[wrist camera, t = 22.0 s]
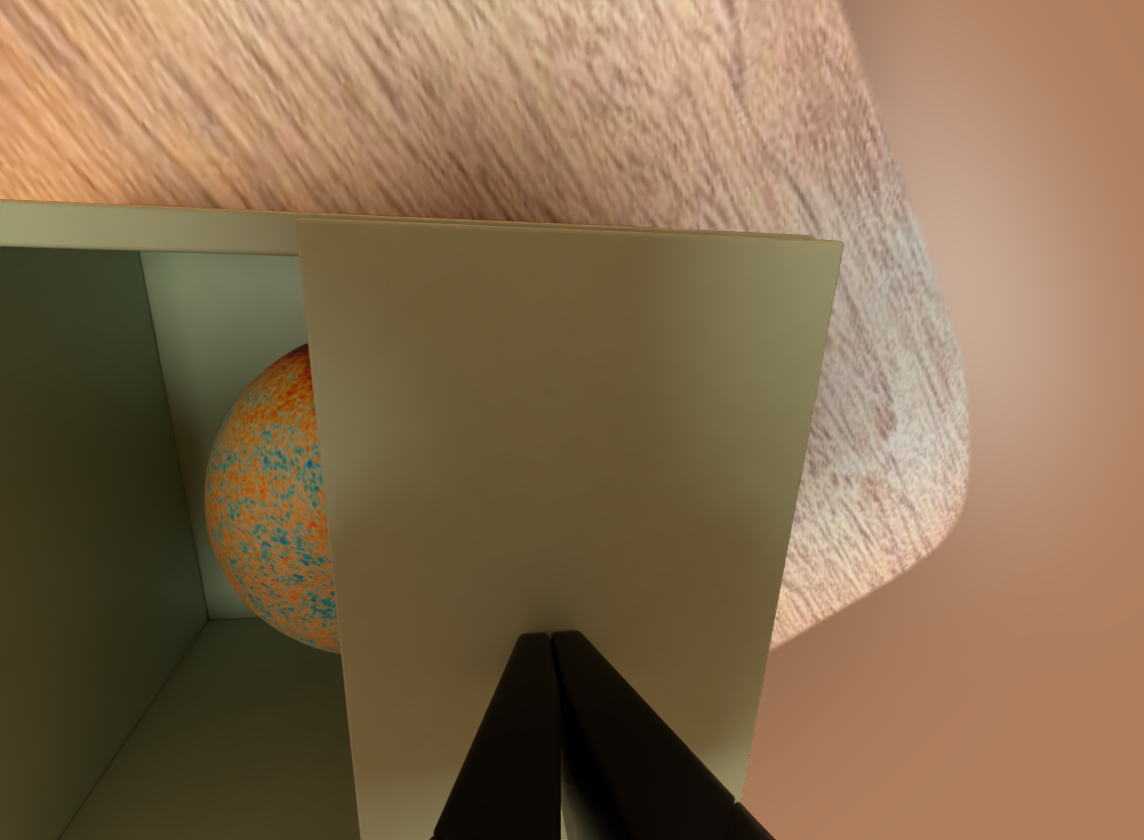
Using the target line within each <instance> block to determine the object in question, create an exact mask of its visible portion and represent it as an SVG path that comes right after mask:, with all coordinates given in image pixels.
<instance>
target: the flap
mask: <svg viewBox="0 0 1144 840" xmlns="http://www.w3.org/2000/svg"><path fill="white" fill-rule="evenodd" d="M295 225H296V235H297V244H298V254H299V263H300V272H301V282H302V291H303V301H304V310H305V320H306V329H307V339H308V348H309V357H310V367H311V376H312V386H313V395H314V405H315V414H316V424H317V433H318V442H319V452H320V461H321V471H322V480H323V490H324V499H325V509H326V518H327V527H328V537H329V546H330V556H331V565H332V575H333V584H334V593H335V603H336V612H337V622H338V631H339V641H340V650H341V660H342V669H343V678H344V688H345V697H346V707H347V716H348V726H349V735H350V745H351V754H352V763H353V773H354V782H355V792H356V801H357V811H358V820H359V830H360V839H361V840H429V839H430V838H431V837H432V836H433V832H434V829H435V826H436V824H437V822H438V820H439V817H440V815H441V813H442V810H443V808H444V806H445V804H446V801H447V799H448V797H449V794H450V792H451V790H452V788H453V785H454V783H455V781H456V778H457V776H458V774H459V772H460V769H461V767H462V765H463V762H464V760H465V758H466V756H467V753H468V751H469V749H470V746H471V744H472V742H473V740H474V737H475V735H476V733H477V730H478V728H479V726H480V724H481V721H482V719H483V717H484V714H485V712H486V710H487V708H488V705H489V703H490V701H491V698H492V696H493V694H494V692H495V689H496V687H497V685H498V682H499V680H500V678H501V676H502V673H503V671H504V669H505V666H506V664H507V662H508V660H509V657H510V655H511V653H512V650H513V648H514V646H515V644H516V641H517V639H518V637H519V636H520V635H521V634H523V633H538V632H545V633H546V634H547V635H548V636H549V640H550V643H551V636H552V634H553V633H554V632H556V631H570V630H578V631H580V632H581V633H582V634H583V635H584V636H585V637H586V638H587V639H588V640H589V641H590V642H591V643H592V644H593V645H594V646H595V648H596V649H597V650H598V651H599V652H600V653H601V654H602V655H603V656H604V657H605V658H606V659H607V660H608V661H609V663H610V664H611V665H612V666H613V667H614V668H615V669H616V670H617V671H618V672H619V673H620V674H621V675H622V677H623V678H624V679H625V680H626V681H627V682H628V683H629V684H630V685H631V686H632V687H633V688H634V689H635V690H636V692H637V693H638V694H639V695H640V696H641V697H642V698H643V699H644V700H645V701H646V702H647V703H648V704H649V705H650V707H651V708H652V709H653V710H654V711H655V712H656V713H657V714H658V715H659V716H660V717H661V718H662V719H663V720H664V722H665V723H666V724H667V725H668V726H669V727H670V728H671V729H672V730H673V731H674V732H675V733H676V734H677V736H678V737H679V738H680V739H681V740H682V741H683V742H684V743H685V744H686V745H687V746H688V747H689V748H690V749H691V751H692V752H693V753H694V754H695V755H696V756H697V757H698V758H699V759H700V760H701V761H702V762H703V763H704V764H705V766H706V767H707V768H708V769H709V770H710V771H711V772H712V773H713V774H714V775H715V776H716V777H717V778H718V779H719V781H720V782H721V783H722V784H723V785H724V786H725V787H726V788H727V789H728V790H729V791H730V792H731V793H732V795H733V796H734V797H735V803H736V802H740V803H741V798H742V793H743V788H744V782H745V777H746V772H747V766H748V761H749V756H750V750H751V744H752V739H753V734H754V728H755V723H756V717H757V712H758V707H759V701H760V696H761V690H762V685H763V680H764V674H765V669H766V663H767V658H768V653H769V647H770V642H771V636H772V631H773V625H774V620H775V615H776V609H777V604H778V598H779V593H780V587H781V582H782V577H783V571H784V566H785V560H786V555H787V550H788V544H789V539H790V533H791V528H792V522H793V517H794V512H795V506H796V501H797V495H798V490H799V484H800V479H801V474H802V468H803V463H804V457H805V452H806V447H807V441H808V436H809V430H810V425H811V419H812V414H813V409H814V403H815V398H816V392H817V387H818V381H819V376H820V371H821V365H822V360H823V354H824V349H825V344H826V338H827V333H828V327H829V322H830V316H831V311H832V306H833V300H834V295H835V289H836V284H837V278H838V273H839V268H840V262H841V257H842V251H843V246H844V245H843V242H841V241H832V240H811V239H788V238H764V237H741V236H717V235H694V234H671V233H647V232H624V231H600V230H577V229H553V228H530V227H507V226H483V225H460V224H436V223H413V222H389V221H366V220H342V219H319V218H298V219H296V222H295ZM561 840H568V838H567V833H566V829H565V824H564V819H563V813H562V808H561Z"/></svg>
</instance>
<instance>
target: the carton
mask: <svg viewBox="0 0 1144 840" xmlns="http://www.w3.org/2000/svg"><path fill="white" fill-rule="evenodd" d="M298 218H319V219H342V220H366V221H389V222H413V223H436V224H460V225H483V226H507V227H530V228H553V229H577V230H600V231H624V232H647V233H671V234H694V235H717V236H741V237H764V238H788V239H811V240H814V237H813V236H811V235H796V234H775V233H754V232H733V231H712V230H692V229H671V228H650V227H627V226H605V225H582V224H559V223H536V222H514V221H491V220H468V219H445V218H423V217H400V216H377V215H354V214H332V213H309V212H286V211H263V210H241V209H218V208H195V207H172V206H149V205H127V204H103V203H80V202H56V201H32V200H8V199H0V840H361V839H360V830H359V820H358V811H357V801H356V792H355V782H354V773H353V763H352V754H351V745H350V735H349V726H348V716H347V707H346V697H345V688H344V678H343V669H342V660H341V654H336V653H331V652H327V651H323V650H320V649H317V648H314V647H311V646H308V645H306V644H303V643H301V642H299V641H296V640H294V639H292V638H290V637H288V636H286V635H285V634H283V633H281V632H280V631H278V630H276V629H275V628H273V627H272V626H271V625H269V624H268V623H266V622H265V621H264V620H263V619H261V618H260V617H259V616H258V615H257V614H256V613H255V612H254V611H252V610H251V609H250V608H249V607H248V606H247V604H246V603H245V602H244V601H243V600H242V599H241V598H240V596H239V595H238V594H237V593H236V591H235V590H234V589H233V587H232V586H231V584H230V583H229V581H228V580H227V578H226V576H225V575H224V573H223V571H222V569H221V567H220V565H219V563H218V561H217V558H216V556H215V553H214V551H213V548H212V545H211V542H210V538H209V534H208V529H207V524H206V518H205V507H204V489H205V477H206V471H207V466H208V461H209V457H210V453H211V450H212V447H213V444H214V441H215V439H216V436H217V434H218V431H219V429H220V427H221V425H222V423H223V421H224V419H225V417H226V416H227V414H228V412H229V411H230V409H231V408H232V406H233V404H234V403H235V402H236V400H237V399H238V398H239V396H240V395H241V394H242V393H243V391H244V390H245V389H246V388H247V387H248V386H249V385H250V383H251V382H252V381H253V380H254V379H255V378H256V377H257V376H258V375H259V374H261V373H262V372H263V371H264V370H265V369H266V368H268V367H269V366H270V365H271V364H273V363H274V362H275V361H277V360H278V359H280V358H281V357H283V356H284V355H286V354H287V353H289V352H291V351H292V350H294V349H296V348H298V347H300V346H302V345H304V344H306V343H308V339H307V329H306V320H305V310H304V301H303V291H302V282H301V272H300V263H299V254H298V244H297V235H296V225H295V222H296V219H298Z"/></svg>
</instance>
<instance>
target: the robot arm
mask: <svg viewBox="0 0 1144 840" xmlns="http://www.w3.org/2000/svg"><path fill="white" fill-rule="evenodd" d="M561 808H562V813H563V819H564V824H565V829H566V833H567V838H568V840H775V839H774V838H773V837H772V836H771V835H770V833H769V832H768V831H767V830H766V829H765V828H764V827H763V826H762V825H761V824H760V823H759V822H758V821H757V820H756V819H755V818H754V817H753V816H752V815H751V813H750V812H749V811H748V810H747V809H746V808H745V807H744V806H743V805H742V804H741V803H740V802H736V803H735V797H734V796H733V795H732V793H731V792H730V791H729V790H728V789H727V788H726V787H725V786H724V785H723V784H722V783H721V782H720V781H719V779H718V778H717V777H716V776H715V775H714V774H713V773H712V772H711V771H710V770H709V769H708V768H707V767H706V766H705V764H704V763H703V762H702V761H701V760H700V759H699V758H698V757H697V756H696V755H695V754H694V753H693V752H692V751H691V749H690V748H689V747H688V746H687V745H686V744H685V743H684V742H683V741H682V740H681V739H680V738H679V737H678V736H677V734H676V733H675V732H674V731H673V730H672V729H671V728H670V727H669V726H668V725H667V724H666V723H665V722H664V720H663V719H662V718H661V717H660V716H659V715H658V714H657V713H656V712H655V711H654V710H653V709H652V708H651V707H650V705H649V704H648V703H647V702H646V701H645V700H644V699H643V698H642V697H641V696H640V695H639V694H638V693H637V692H636V690H635V689H634V688H633V687H632V686H631V685H630V684H629V683H628V682H627V681H626V680H625V679H624V678H623V677H622V675H621V674H620V673H619V672H618V671H617V670H616V669H615V668H614V667H613V666H612V665H611V664H610V663H609V661H608V660H607V659H606V658H605V657H604V656H603V655H602V654H601V653H600V652H599V651H598V650H597V649H596V648H595V646H594V645H593V644H592V643H591V642H590V641H589V640H588V639H587V638H586V637H585V636H584V635H583V634H582V633H581V632H580V631H578V630H570V631H556V632H554V633H553V634H552V636H551V643H550V640H549V636H548V635H547V634H546V633H545V632H538V633H523V634H521V635H520V636H519V637H518V639H517V641H516V644H515V646H514V648H513V650H512V653H511V655H510V657H509V660H508V662H507V664H506V666H505V669H504V671H503V673H502V676H501V678H500V680H499V682H498V685H497V687H496V689H495V692H494V694H493V696H492V698H491V701H490V703H489V705H488V708H487V710H486V712H485V714H484V717H483V719H482V721H481V724H480V726H479V728H478V730H477V733H476V735H475V737H474V740H473V742H472V744H471V746H470V749H469V751H468V753H467V756H466V758H465V760H464V762H463V765H462V767H461V769H460V772H459V774H458V776H457V778H456V781H455V783H454V785H453V788H452V790H451V792H450V794H449V797H448V799H447V801H446V804H445V806H444V808H443V810H442V813H441V815H440V817H439V820H438V822H437V824H436V826H435V829H434V832H433V836H432V837H431V838H430V839H429V840H561Z"/></svg>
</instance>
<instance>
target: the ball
mask: <svg viewBox="0 0 1144 840" xmlns="http://www.w3.org/2000/svg"><path fill="white" fill-rule="evenodd" d="M204 507H205V518H206V524H207V529H208V534H209V538H210V542H211V545H212V548H213V551H214V553H215V556H216V558H217V561H218V563H219V565H220V567H221V569H222V571H223V573H224V575H225V576H226V578H227V580H228V581H229V583H230V584H231V586H232V587H233V589H234V590H235V591H236V593H237V594H238V595H239V596H240V598H241V599H242V600H243V601H244V602H245V603H246V604H247V606H248V607H249V608H250V609H251V610H252V611H254V612H255V613H256V614H257V615H258V616H259V617H260V618H261V619H263V620H264V621H265V622H266V623H268V624H269V625H271V626H272V627H273V628H275V629H276V630H278V631H280V632H281V633H283V634H285V635H286V636H288V637H290V638H292V639H294V640H296V641H299V642H301V643H303V644H306V645H308V646H311V647H314V648H317V649H320V650H323V651H327V652H331V653H336V654H341V650H340V641H339V631H338V622H337V612H336V603H335V593H334V584H333V575H332V565H331V556H330V546H329V537H328V527H327V518H326V509H325V499H324V490H323V480H322V471H321V461H320V452H319V442H318V433H317V424H316V414H315V405H314V395H313V386H312V376H311V367H310V357H309V348H308V343H306V344H304V345H302V346H300V347H298V348H296V349H294V350H292V351H291V352H289V353H287V354H286V355H284V356H283V357H281V358H280V359H278V360H277V361H275V362H274V363H273V364H271V365H270V366H269V367H268V368H266V369H265V370H264V371H263V372H262V373H261V374H259V375H258V376H257V377H256V378H255V379H254V380H253V381H252V382H251V383H250V385H249V386H248V387H247V388H246V389H245V390H244V391H243V393H242V394H241V395H240V396H239V398H238V399H237V400H236V402H235V403H234V404H233V406H232V408H231V409H230V411H229V412H228V414H227V416H226V417H225V419H224V421H223V423H222V425H221V427H220V429H219V431H218V434H217V436H216V439H215V441H214V444H213V447H212V450H211V453H210V457H209V461H208V466H207V471H206V477H205V489H204Z"/></svg>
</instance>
